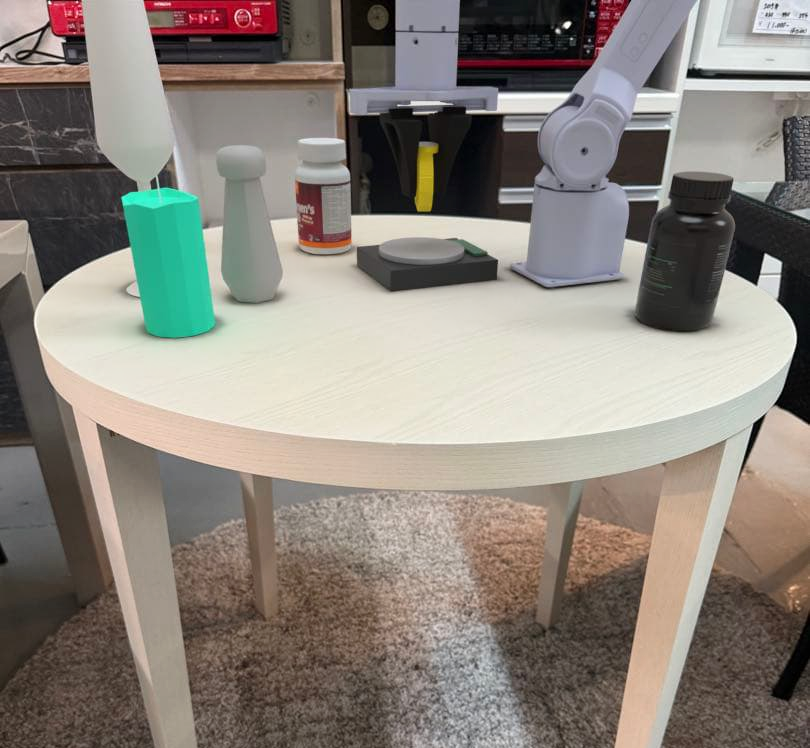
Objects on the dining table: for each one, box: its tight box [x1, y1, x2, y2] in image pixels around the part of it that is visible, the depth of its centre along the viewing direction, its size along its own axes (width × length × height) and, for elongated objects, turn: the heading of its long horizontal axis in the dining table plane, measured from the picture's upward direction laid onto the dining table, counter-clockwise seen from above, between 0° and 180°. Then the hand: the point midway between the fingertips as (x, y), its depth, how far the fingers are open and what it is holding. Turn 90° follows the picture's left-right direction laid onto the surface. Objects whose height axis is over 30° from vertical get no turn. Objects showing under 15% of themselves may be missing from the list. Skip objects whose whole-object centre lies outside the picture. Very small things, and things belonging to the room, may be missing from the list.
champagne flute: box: [81, 0, 176, 298], centre depth 68 cm, size 7×7×24 cm
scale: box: [356, 236, 499, 292], centre depth 80 cm, size 12×10×3 cm
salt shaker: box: [215, 144, 284, 304], centre depth 70 cm, size 6×6×13 cm
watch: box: [414, 141, 439, 212], centre depth 75 cm, size 6×3×6 cm, turn 4°
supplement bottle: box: [634, 171, 736, 332], centre depth 66 cm, size 7×7×12 cm
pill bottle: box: [294, 137, 353, 255], centre depth 85 cm, size 6×6×11 cm
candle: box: [121, 175, 216, 339], centre depth 63 cm, size 6×6×12 cm
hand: (423, 194), depth 76 cm, fingers closed on watch, 2 cm apart
